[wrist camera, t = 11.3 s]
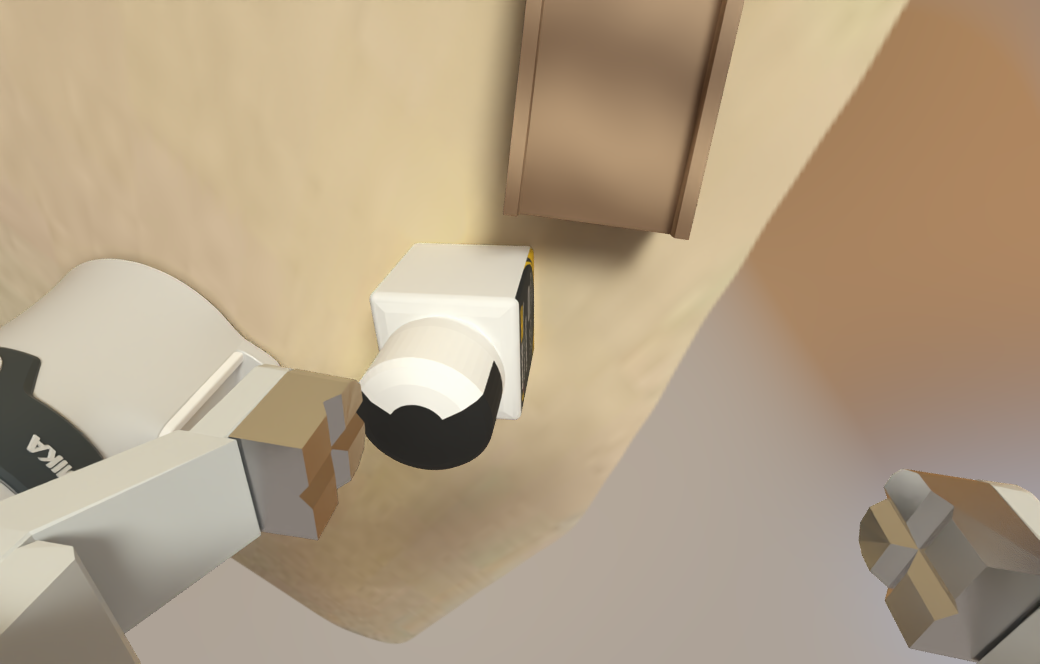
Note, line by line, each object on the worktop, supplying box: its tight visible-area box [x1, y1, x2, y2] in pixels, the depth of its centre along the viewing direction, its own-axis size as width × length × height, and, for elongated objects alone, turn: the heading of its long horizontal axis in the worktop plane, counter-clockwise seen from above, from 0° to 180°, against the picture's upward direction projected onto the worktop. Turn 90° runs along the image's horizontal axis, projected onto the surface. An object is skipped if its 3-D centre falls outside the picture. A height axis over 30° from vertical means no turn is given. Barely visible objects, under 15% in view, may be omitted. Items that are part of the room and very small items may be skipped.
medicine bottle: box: [356, 243, 534, 470], centre depth 26 cm, size 7×7×12 cm
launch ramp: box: [503, 0, 744, 240], centre depth 21 cm, size 12×8×6 cm, turn 174°
